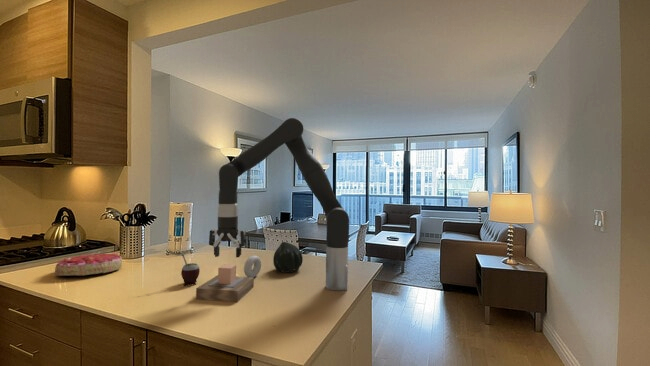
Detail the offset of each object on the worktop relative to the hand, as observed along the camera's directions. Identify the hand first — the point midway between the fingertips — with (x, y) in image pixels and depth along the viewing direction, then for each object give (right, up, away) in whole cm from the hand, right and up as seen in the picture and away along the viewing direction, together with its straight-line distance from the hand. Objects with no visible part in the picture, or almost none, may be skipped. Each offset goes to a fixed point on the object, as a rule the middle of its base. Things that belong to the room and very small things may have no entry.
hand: (227, 256), depth 115 cm
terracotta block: (0, -10, 0) cm, 10 cm away
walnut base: (0, -14, 0) cm, 14 cm away
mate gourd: (-19, -14, +9) cm, 26 cm away
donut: (+5, -15, +20) cm, 25 cm away
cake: (-73, -14, +24) cm, 78 cm away
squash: (+20, -15, +32) cm, 40 cm away
